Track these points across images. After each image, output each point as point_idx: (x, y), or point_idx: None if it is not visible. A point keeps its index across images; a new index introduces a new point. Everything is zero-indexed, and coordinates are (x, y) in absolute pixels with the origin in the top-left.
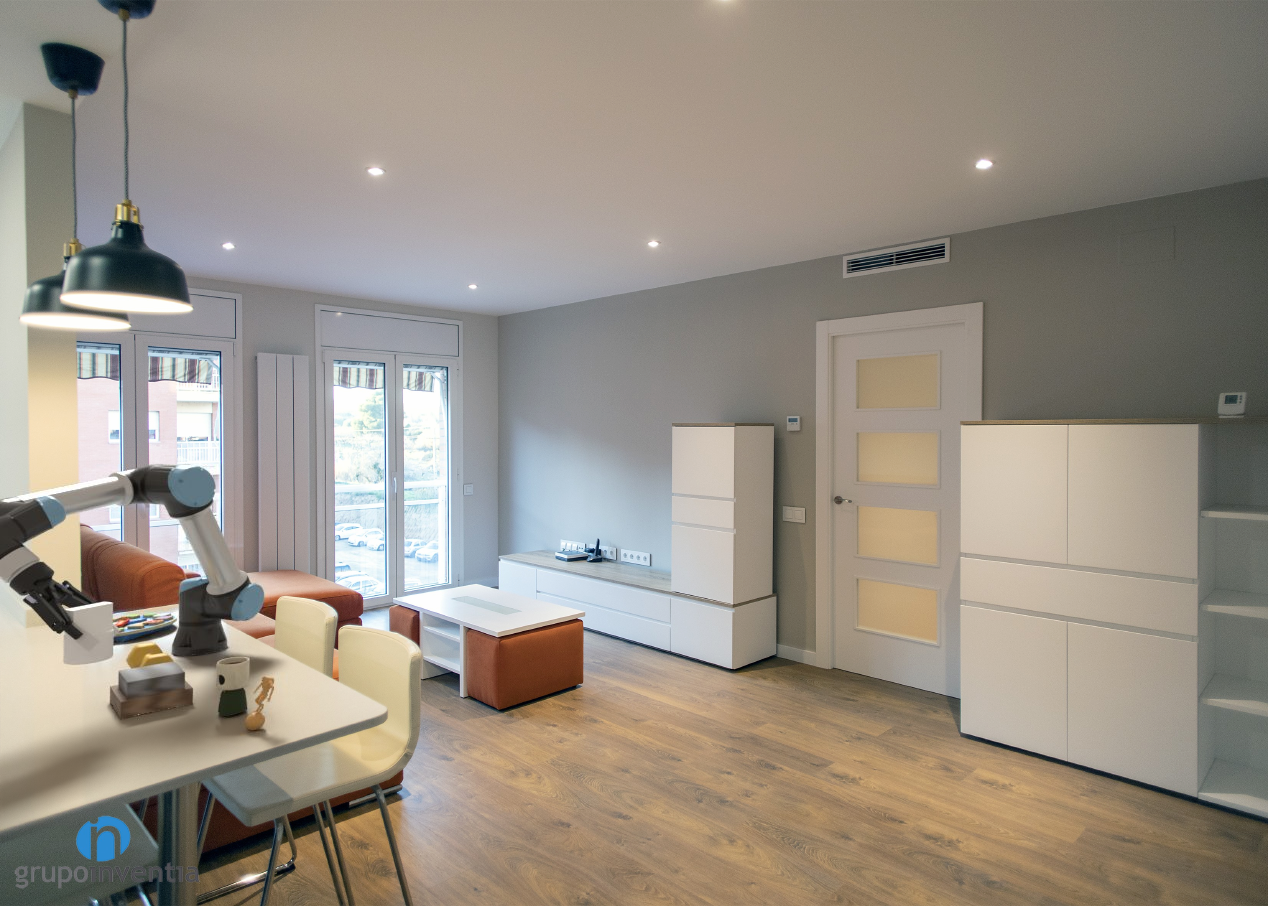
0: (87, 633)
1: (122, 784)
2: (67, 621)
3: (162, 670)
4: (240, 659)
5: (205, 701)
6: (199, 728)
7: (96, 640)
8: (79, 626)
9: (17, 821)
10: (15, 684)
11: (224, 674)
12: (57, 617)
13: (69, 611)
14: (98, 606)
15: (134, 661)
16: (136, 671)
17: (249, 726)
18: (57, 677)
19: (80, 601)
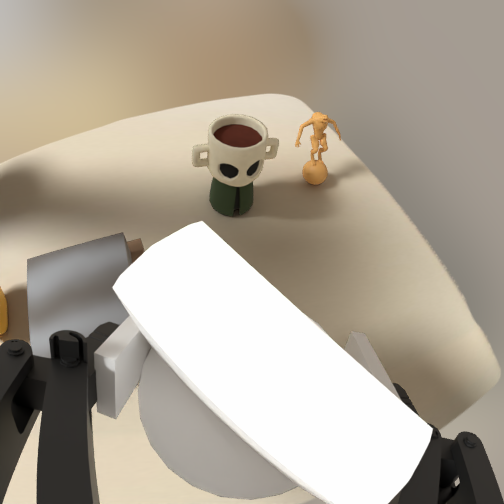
0: (381, 363)
1: (447, 303)
2: (440, 438)
3: (81, 275)
4: (215, 126)
5: (141, 238)
6: (283, 239)
7: (363, 337)
8: (397, 394)
9: (498, 375)
10: None
11: (263, 155)
12: (488, 465)
13: (414, 463)
14: (288, 303)
15: None
16: (58, 327)
17: (324, 180)
18: None
19: (82, 473)
